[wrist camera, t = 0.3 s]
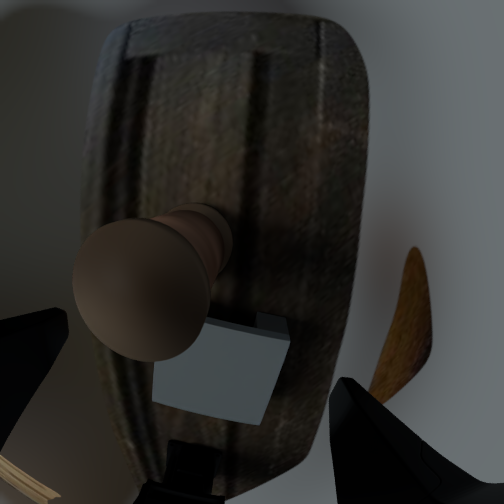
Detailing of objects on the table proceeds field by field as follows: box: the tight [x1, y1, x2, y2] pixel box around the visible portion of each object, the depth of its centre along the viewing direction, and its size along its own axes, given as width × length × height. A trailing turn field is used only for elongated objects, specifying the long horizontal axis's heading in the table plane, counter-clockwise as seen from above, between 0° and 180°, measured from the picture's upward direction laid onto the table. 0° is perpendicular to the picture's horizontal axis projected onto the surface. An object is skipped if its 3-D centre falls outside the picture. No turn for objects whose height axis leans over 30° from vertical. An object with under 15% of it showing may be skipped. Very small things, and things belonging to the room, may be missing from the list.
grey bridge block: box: [152, 312, 291, 425], centre depth 22 cm, size 9×9×4 cm
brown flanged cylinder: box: [72, 203, 233, 362], centre depth 16 cm, size 6×6×12 cm
